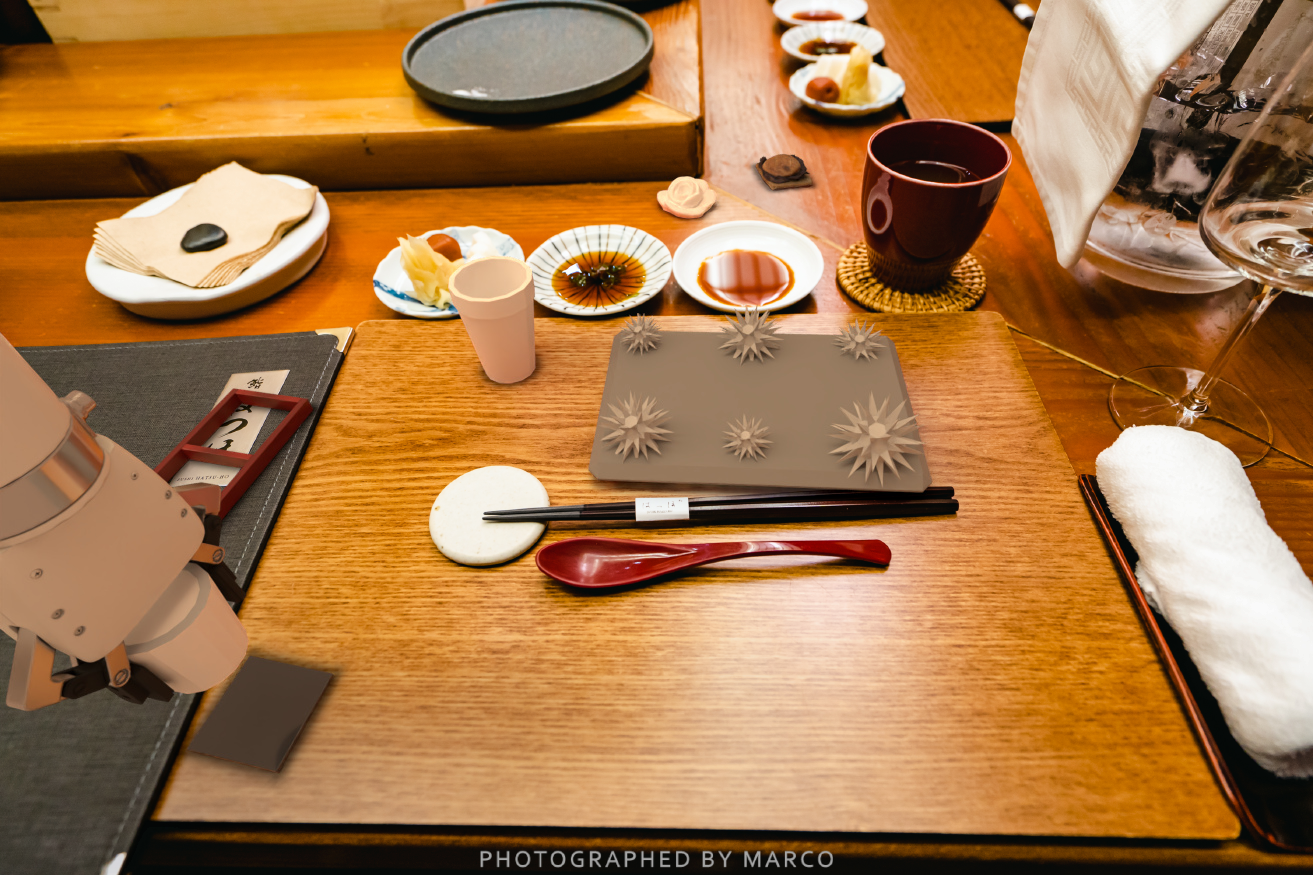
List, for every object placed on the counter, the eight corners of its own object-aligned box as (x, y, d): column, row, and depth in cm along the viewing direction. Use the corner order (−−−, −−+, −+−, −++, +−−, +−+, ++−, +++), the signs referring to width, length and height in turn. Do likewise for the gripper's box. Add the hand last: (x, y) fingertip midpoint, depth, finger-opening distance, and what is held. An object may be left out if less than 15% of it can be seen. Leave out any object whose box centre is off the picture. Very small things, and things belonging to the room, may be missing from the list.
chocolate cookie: (815, 187, 119) (818, 166, 116) (768, 191, 118) (770, 170, 115) (796, 161, 126) (799, 141, 123) (752, 165, 125) (754, 145, 122)
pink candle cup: (139, 656, 49) (77, 606, 44) (235, 595, 52) (188, 542, 47) (173, 723, 45) (110, 677, 40) (273, 654, 49) (226, 603, 44)
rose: (716, 167, 115) (718, 193, 108) (715, 192, 118) (717, 219, 111) (657, 167, 115) (655, 194, 108) (658, 192, 118) (656, 219, 112)
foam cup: (495, 338, 90) (474, 251, 81) (559, 350, 88) (545, 262, 79) (459, 384, 84) (432, 294, 74) (527, 398, 82) (508, 307, 72)
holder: (313, 409, 81) (308, 398, 80) (205, 540, 68) (196, 529, 67) (240, 398, 83) (233, 387, 81) (120, 524, 70) (109, 513, 68)
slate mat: (278, 773, 52) (276, 771, 52) (188, 750, 53) (186, 748, 53) (334, 675, 58) (332, 673, 57) (251, 657, 59) (249, 655, 59)
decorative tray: (888, 349, 86) (907, 282, 79) (931, 510, 68) (960, 441, 61) (616, 342, 89) (610, 276, 82) (587, 495, 71) (577, 427, 64)
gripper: (83, 358, 41) (225, 534, 54) (-234, 610, 29) (45, 758, 42) (190, 373, 40) (310, 549, 52) (-96, 642, 28) (148, 785, 41)
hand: (191, 641), depth 47 cm, fingers closed on pink candle cup, 6 cm apart
